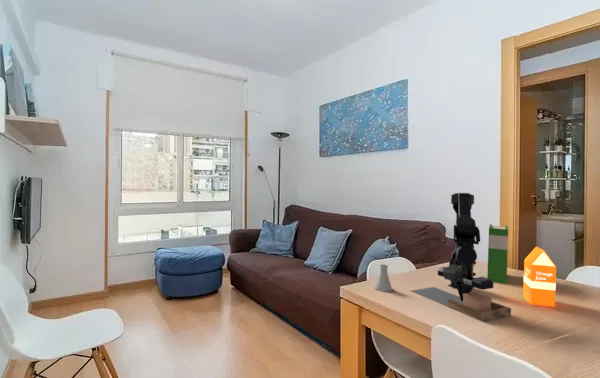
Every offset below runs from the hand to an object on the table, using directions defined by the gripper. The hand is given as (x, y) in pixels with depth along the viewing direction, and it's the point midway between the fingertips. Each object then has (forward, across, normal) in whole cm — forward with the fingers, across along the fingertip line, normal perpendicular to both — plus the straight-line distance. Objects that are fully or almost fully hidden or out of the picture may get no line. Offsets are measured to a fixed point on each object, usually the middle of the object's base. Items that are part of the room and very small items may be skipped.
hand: (463, 301), depth 118 cm
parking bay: (+1, +6, 0) cm, 6 cm away
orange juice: (+2, +8, +31) cm, 32 cm away
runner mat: (+2, -3, 0) cm, 4 cm away
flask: (+2, -25, -15) cm, 29 cm away
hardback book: (+2, -19, +47) cm, 51 cm away
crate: (+1, +5, 0) cm, 5 cm away
